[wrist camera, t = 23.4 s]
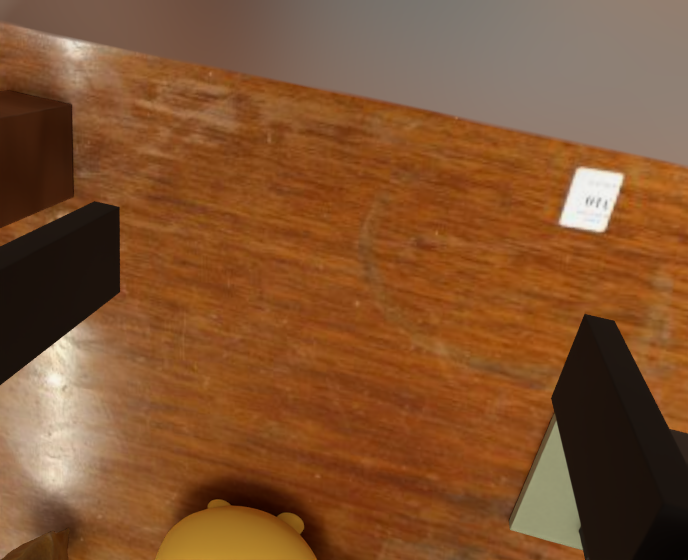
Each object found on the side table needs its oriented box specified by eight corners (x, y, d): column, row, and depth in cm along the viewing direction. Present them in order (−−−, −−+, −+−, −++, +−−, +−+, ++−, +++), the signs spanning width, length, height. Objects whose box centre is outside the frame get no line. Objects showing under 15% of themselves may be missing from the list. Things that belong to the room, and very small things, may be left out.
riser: (8, 89, 42) (-87, 102, 34) (71, 104, 41) (-11, 119, 34) (14, 182, 45) (-72, 212, 37) (73, 197, 44) (-2, 229, 37)
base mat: (556, 408, 44) (563, 437, 40) (803, 471, 42) (831, 507, 39) (508, 520, 49) (512, 554, 46) (727, 581, 47) (746, 621, 44)
